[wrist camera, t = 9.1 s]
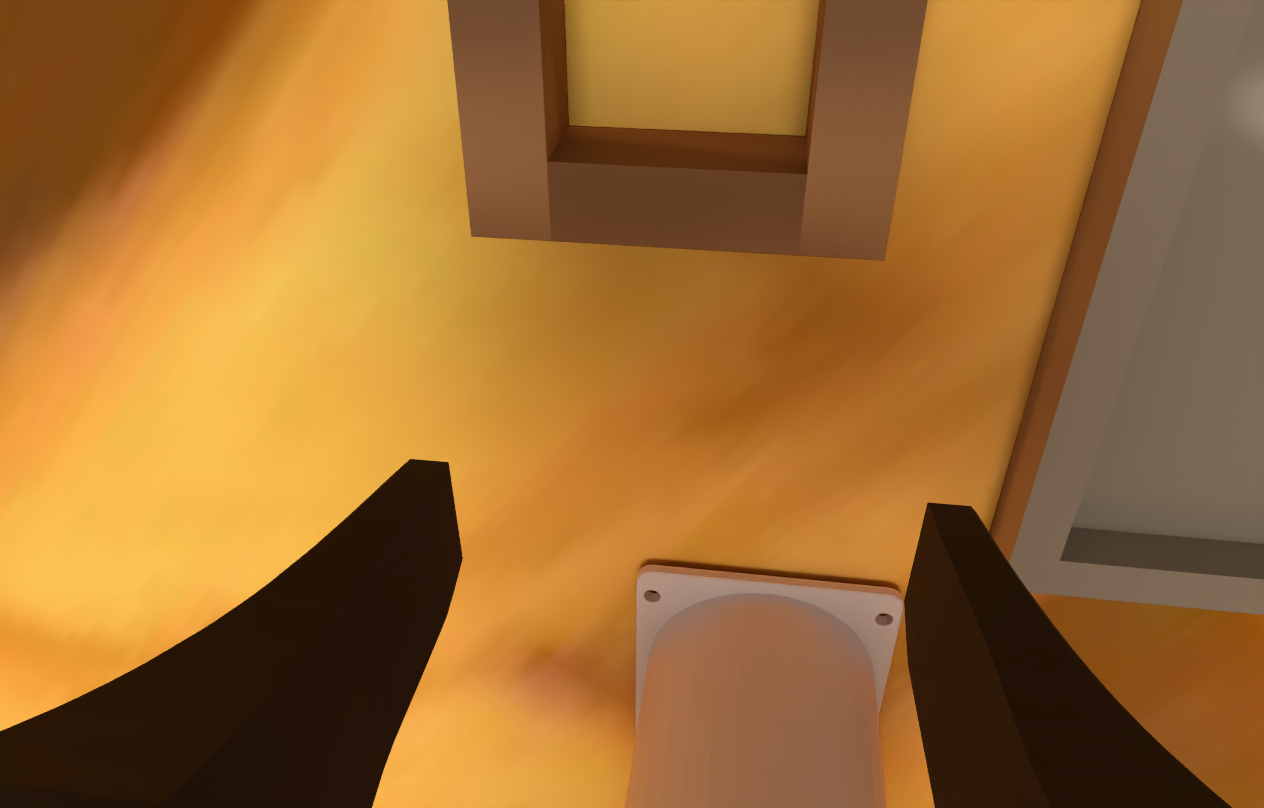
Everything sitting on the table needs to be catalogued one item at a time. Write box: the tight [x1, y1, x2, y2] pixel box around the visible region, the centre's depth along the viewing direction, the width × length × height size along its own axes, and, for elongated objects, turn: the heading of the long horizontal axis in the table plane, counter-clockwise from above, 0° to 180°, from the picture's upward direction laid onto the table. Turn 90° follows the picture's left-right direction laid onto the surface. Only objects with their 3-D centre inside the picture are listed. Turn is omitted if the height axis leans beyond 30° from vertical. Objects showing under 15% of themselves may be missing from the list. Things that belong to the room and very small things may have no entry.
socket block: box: [447, 0, 927, 261], centre depth 19 cm, size 9×9×2 cm
